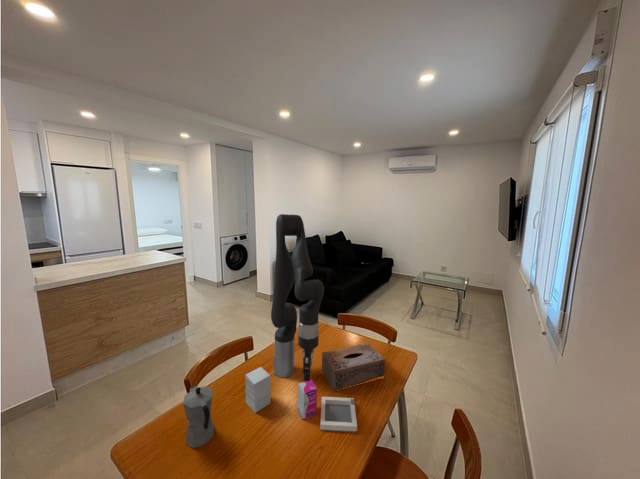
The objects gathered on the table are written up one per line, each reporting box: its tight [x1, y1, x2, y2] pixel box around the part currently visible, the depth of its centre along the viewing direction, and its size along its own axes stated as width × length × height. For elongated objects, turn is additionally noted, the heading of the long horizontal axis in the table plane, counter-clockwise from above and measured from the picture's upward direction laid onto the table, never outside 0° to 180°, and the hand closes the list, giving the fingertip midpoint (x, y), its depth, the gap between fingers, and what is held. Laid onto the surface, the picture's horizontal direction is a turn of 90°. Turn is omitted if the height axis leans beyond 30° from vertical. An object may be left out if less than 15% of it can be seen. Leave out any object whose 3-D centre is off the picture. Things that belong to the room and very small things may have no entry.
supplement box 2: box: [297, 379, 318, 421], centre depth 96 cm, size 6×6×12 cm
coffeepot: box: [182, 385, 215, 449], centre depth 84 cm, size 15×9×18 cm, turn 43°
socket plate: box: [319, 396, 358, 433], centre depth 95 cm, size 13×13×3 cm
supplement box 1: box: [244, 366, 272, 414], centre depth 100 cm, size 7×7×13 cm
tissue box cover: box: [321, 342, 386, 392], centre depth 119 cm, size 26×14×10 cm, turn 111°
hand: (308, 372), depth 95 cm, fingers open, 8 cm apart
